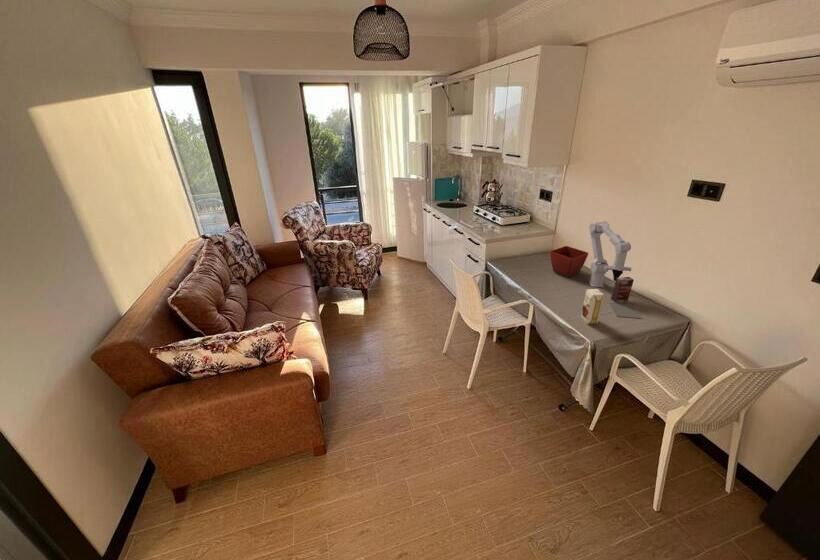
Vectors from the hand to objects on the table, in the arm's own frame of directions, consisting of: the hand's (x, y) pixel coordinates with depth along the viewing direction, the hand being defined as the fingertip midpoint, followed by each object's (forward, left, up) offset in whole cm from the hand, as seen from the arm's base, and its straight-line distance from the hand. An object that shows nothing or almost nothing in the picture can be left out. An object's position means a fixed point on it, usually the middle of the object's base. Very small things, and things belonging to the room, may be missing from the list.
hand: (614, 280), depth 211 cm
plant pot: (-32, -23, -11) cm, 41 cm away
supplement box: (+8, +2, -11) cm, 14 cm away
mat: (+20, +2, -10) cm, 23 cm away
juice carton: (+36, -21, -11) cm, 43 cm away
